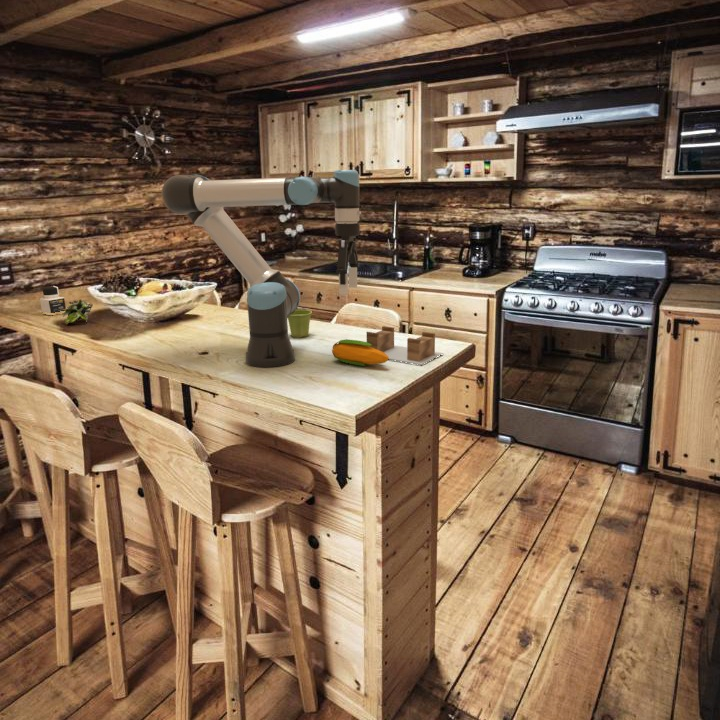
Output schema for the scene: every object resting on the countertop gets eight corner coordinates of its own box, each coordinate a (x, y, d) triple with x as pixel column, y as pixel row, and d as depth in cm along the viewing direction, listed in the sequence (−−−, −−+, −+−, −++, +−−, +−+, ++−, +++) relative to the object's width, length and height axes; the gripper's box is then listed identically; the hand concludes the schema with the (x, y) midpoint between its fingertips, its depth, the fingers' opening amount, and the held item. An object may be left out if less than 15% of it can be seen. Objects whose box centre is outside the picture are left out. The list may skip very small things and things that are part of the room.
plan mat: (421, 366, 180) (421, 364, 180) (358, 354, 193) (358, 353, 192) (443, 355, 191) (443, 353, 191) (382, 345, 204) (382, 343, 203)
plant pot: (308, 339, 213) (307, 315, 210) (283, 338, 215) (281, 314, 212) (315, 333, 222) (315, 309, 219) (291, 332, 223) (290, 309, 221)
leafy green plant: (78, 334, 250) (87, 307, 254) (95, 332, 244) (103, 305, 248) (54, 323, 241) (63, 296, 245) (70, 321, 235) (79, 293, 239)
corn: (339, 333, 189) (395, 341, 178) (341, 356, 191) (396, 365, 181) (325, 340, 183) (382, 348, 172) (327, 363, 186) (383, 373, 175)
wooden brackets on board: (418, 363, 182) (418, 340, 180) (366, 354, 193) (366, 332, 191) (434, 355, 190) (435, 333, 188) (383, 347, 201) (383, 326, 199)
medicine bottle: (51, 316, 259) (46, 288, 256) (42, 314, 263) (37, 287, 259) (66, 313, 265) (62, 286, 261) (57, 311, 268) (53, 284, 265)
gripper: (350, 225, 174) (351, 298, 180) (367, 219, 197) (367, 284, 203) (325, 225, 175) (327, 297, 181) (344, 219, 198) (345, 284, 204)
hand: (348, 291), depth 192 cm, fingers open, 13 cm apart
